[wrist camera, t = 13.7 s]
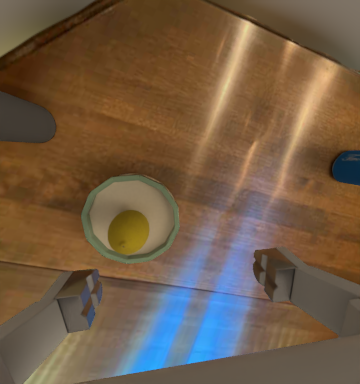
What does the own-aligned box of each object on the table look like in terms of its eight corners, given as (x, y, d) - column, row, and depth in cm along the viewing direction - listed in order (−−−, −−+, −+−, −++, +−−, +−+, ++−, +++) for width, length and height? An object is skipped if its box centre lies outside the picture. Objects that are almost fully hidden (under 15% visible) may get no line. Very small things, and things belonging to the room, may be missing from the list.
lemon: (110, 224, 27) (90, 254, 19) (127, 196, 26) (113, 216, 19) (140, 239, 28) (133, 273, 21) (157, 213, 28) (156, 238, 20)
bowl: (89, 173, 30) (71, 179, 24) (173, 167, 31) (176, 171, 25) (104, 247, 33) (92, 269, 27) (178, 239, 35) (182, 257, 29)
